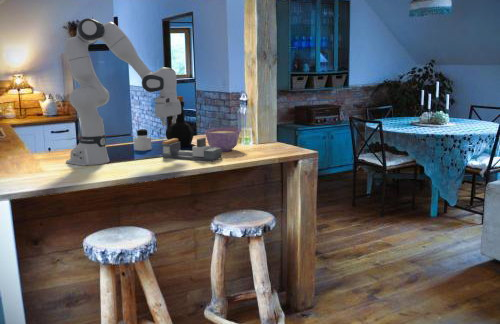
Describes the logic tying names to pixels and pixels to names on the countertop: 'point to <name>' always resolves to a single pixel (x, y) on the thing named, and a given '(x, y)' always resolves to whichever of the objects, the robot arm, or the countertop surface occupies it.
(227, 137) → the bowl of food
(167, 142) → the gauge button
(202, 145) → the carriage
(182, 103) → the bottle
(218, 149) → the rail
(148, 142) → the medicine bottle
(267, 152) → the countertop surface
